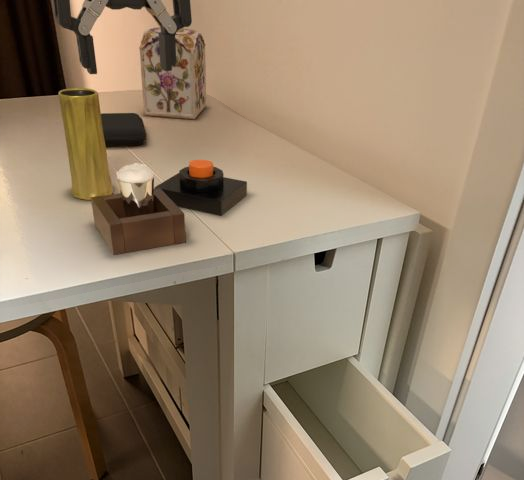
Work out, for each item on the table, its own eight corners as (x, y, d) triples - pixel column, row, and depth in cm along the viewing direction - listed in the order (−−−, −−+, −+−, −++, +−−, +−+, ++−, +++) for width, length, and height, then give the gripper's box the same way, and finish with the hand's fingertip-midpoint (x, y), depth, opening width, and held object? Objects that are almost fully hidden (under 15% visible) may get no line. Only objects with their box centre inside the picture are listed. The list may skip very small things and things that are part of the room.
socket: (113, 255, 68) (109, 225, 66) (94, 225, 75) (90, 197, 73) (185, 242, 72) (184, 213, 70) (161, 215, 79) (159, 187, 76)
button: (184, 176, 82) (184, 164, 80) (196, 169, 84) (196, 157, 83) (206, 180, 80) (206, 168, 79) (217, 173, 83) (217, 161, 82)
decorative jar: (143, 116, 121) (135, 20, 110) (158, 103, 130) (152, 14, 119) (196, 120, 120) (194, 24, 109) (207, 107, 129) (206, 18, 118)
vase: (96, 203, 81) (81, 99, 73) (63, 195, 83) (44, 93, 75) (121, 190, 86) (110, 91, 77) (89, 183, 88) (75, 85, 79)
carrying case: (89, 127, 112) (89, 149, 101) (87, 111, 110) (86, 132, 99) (142, 126, 115) (148, 147, 103) (141, 110, 113) (146, 130, 101)
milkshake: (122, 225, 75) (114, 151, 69) (161, 228, 75) (156, 154, 69) (113, 240, 72) (103, 163, 66) (154, 243, 72) (148, 166, 66)
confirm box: (155, 201, 83) (153, 175, 80) (184, 182, 89) (183, 158, 87) (221, 215, 80) (221, 188, 77) (246, 195, 86) (247, 169, 84)
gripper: (41, -124, 48) (72, 81, 57) (196, -111, 53) (201, 75, 63) (29, -119, 53) (59, 68, 63) (171, -108, 58) (179, 63, 68)
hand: (130, 71), depth 63 cm, fingers open, 8 cm apart
